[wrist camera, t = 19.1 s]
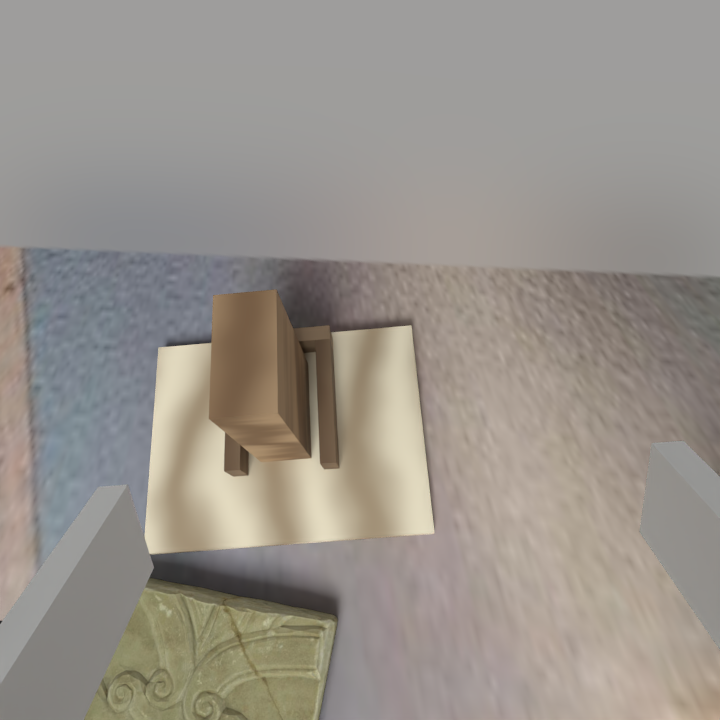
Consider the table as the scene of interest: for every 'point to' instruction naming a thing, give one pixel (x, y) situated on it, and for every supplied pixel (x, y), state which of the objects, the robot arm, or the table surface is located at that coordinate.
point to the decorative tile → (216, 659)
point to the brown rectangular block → (259, 377)
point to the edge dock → (293, 477)
